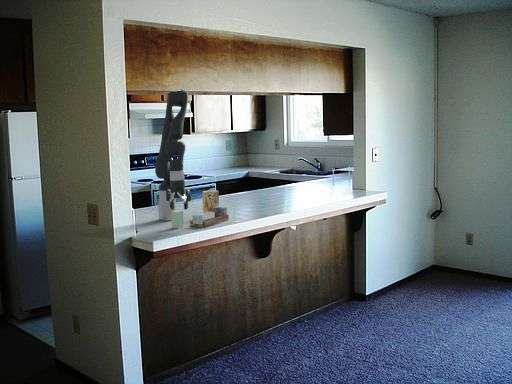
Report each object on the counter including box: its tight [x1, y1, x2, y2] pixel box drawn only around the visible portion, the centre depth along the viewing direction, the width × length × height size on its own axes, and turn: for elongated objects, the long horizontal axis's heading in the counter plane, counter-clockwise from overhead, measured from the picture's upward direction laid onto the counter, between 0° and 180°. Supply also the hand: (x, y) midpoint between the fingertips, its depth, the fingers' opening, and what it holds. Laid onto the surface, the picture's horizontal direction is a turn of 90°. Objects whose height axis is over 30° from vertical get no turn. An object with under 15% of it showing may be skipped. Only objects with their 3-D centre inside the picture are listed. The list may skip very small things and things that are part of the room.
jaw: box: [191, 211, 215, 225], centre depth 330 cm, size 6×12×5 cm, turn 151°
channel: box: [189, 206, 230, 228], centre depth 335 cm, size 10×24×7 cm, turn 151°
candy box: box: [201, 189, 220, 212], centre depth 353 cm, size 9×4×15 cm, turn 120°
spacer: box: [171, 209, 185, 229], centre depth 325 cm, size 4×4×9 cm
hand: (179, 209), depth 324 cm, fingers open, 8 cm apart
